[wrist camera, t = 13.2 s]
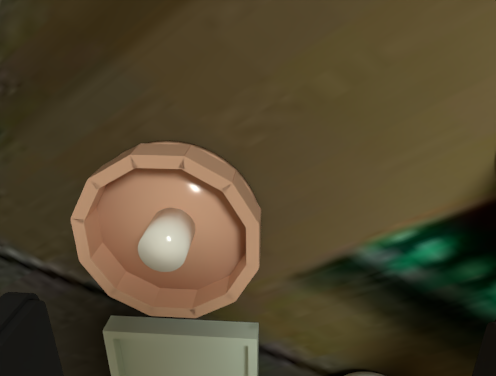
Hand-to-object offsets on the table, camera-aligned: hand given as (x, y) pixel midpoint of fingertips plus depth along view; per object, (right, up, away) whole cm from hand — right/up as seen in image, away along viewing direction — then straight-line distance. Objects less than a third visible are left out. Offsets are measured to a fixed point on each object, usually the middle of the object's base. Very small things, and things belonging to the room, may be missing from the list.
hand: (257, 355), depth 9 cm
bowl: (-8, 0, +34) cm, 35 cm away
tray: (-7, -19, +43) cm, 47 cm away
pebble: (-8, 0, +33) cm, 34 cm away
